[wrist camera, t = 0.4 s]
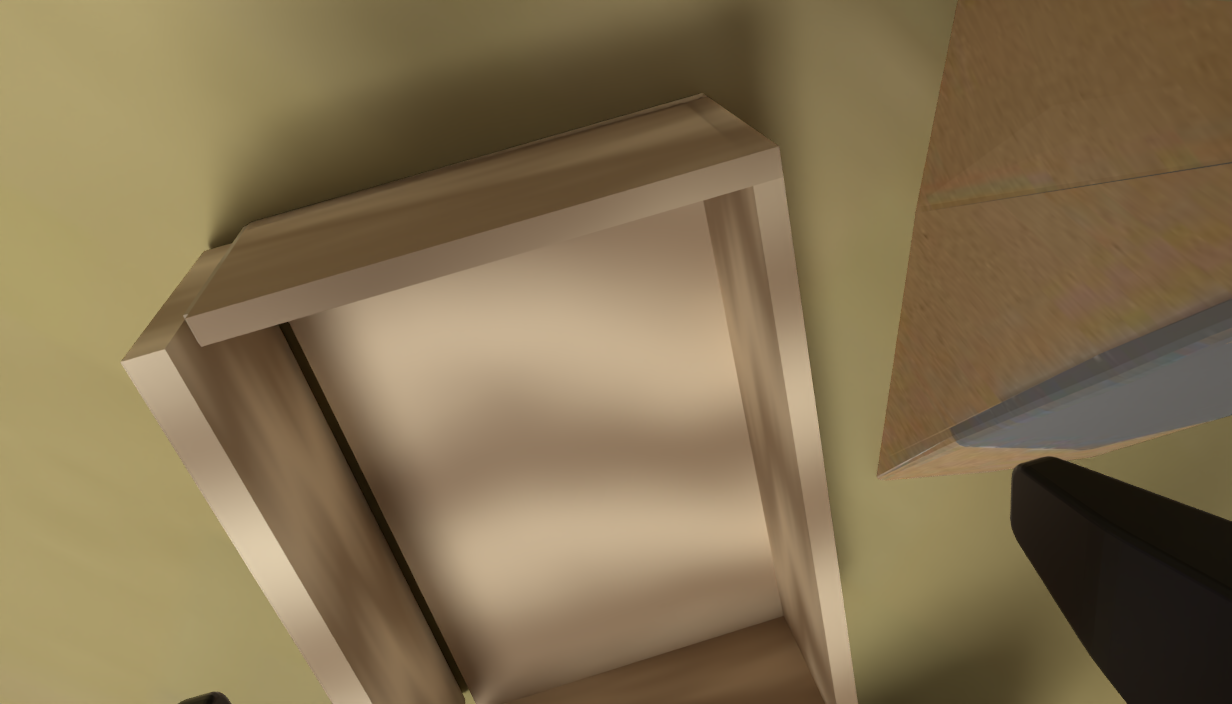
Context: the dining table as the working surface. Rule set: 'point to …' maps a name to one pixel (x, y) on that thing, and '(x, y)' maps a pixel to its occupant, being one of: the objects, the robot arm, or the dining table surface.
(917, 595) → the dining table surface
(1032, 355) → the sandwich container
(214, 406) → the flap
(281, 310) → the carton
